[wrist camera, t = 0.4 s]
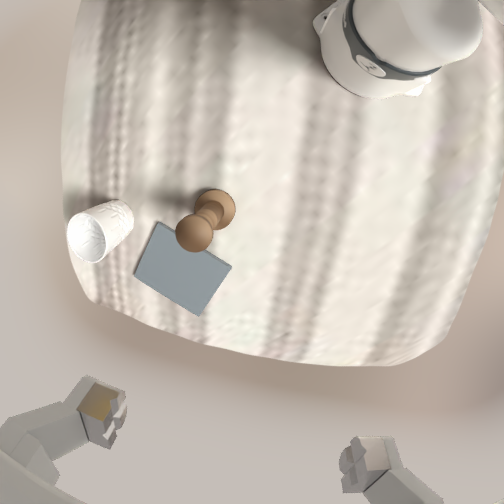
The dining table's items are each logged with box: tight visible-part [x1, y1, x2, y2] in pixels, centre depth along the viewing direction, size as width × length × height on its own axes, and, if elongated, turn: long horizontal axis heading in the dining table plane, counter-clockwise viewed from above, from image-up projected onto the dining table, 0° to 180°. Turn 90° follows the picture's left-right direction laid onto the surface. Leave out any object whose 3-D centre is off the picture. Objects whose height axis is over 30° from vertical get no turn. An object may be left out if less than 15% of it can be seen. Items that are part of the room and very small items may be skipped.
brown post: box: [175, 189, 235, 253], centre depth 39 cm, size 6×6×12 cm
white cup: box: [67, 200, 134, 263], centre depth 42 cm, size 8×8×10 cm
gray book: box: [134, 222, 232, 317], centre depth 49 cm, size 12×14×1 cm
